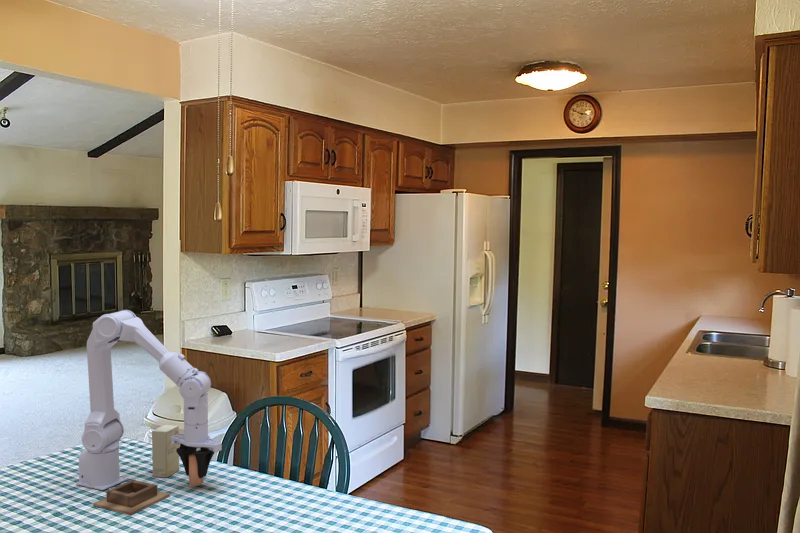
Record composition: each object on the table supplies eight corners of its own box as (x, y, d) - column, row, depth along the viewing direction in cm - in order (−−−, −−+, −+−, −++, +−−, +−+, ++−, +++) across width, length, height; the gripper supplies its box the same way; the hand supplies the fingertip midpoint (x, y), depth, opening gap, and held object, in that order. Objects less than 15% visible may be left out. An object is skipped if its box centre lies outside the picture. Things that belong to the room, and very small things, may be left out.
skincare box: (167, 478, 172) (166, 432, 171) (151, 476, 173) (151, 431, 172) (179, 469, 178) (179, 425, 177) (164, 468, 179) (164, 424, 178)
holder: (93, 505, 154) (92, 492, 154) (133, 487, 165) (133, 475, 165) (131, 515, 149) (130, 502, 149) (170, 496, 160) (169, 483, 160)
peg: (185, 484, 165) (185, 456, 165) (195, 479, 168) (195, 452, 168) (196, 486, 163) (196, 458, 163) (206, 481, 167) (206, 454, 166)
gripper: (229, 421, 166) (229, 475, 166) (184, 414, 172) (185, 465, 172) (210, 429, 159) (210, 484, 160) (164, 421, 165) (165, 474, 166)
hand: (196, 475), depth 166 cm, fingers closed on peg, 3 cm apart
